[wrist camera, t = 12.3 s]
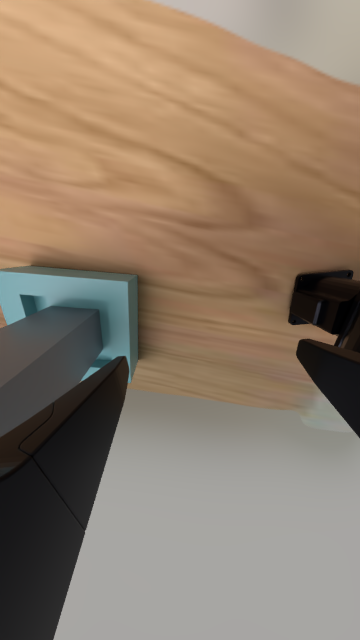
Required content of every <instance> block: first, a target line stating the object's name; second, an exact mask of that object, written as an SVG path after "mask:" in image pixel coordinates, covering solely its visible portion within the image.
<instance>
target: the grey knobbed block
mask: <svg viewBox="0 0 360 640" xmlns="http://www.w3.org/2000/svg"><path fill="white" fill-rule="evenodd" d="M102 350H103V343H102V333H101V323H100V313H99V309H86V308H72V307H58V306H49V307H47V308H45V309H43V310H40V311H38V312H36V313H34V314H32V315H29V316H27V317H25V318H23V319H21V320H18V321H16V322H14V323H12V324H10V325H7V326H5V327H3V328H1V329H0V437H1V436H3V435H4V434H6V433H7V432H9V431H11V430H12V429H14V428H15V427H17V426H18V425H20V424H21V423H23V422H24V421H26V420H28V419H29V418H31V417H32V416H33V415H35V414H36V413H38V412H39V411H41V410H42V409H44V408H45V407H46V406H48V405H49V404H51V403H52V402H55V400H56V399H58V398H59V397H61V396H62V395H63V394H65V393H66V392H68V391H69V390H71V389H72V388H73V387H75V386H76V385H78V384H79V382H80V381H81V379H82V378H83V377H84V375H85V374H86V373H87V371H88V370H89V368H90V367H91V366H92V364H93V363H94V361H95V360H96V359H97V357H98V356H99V354H100V353H101V352H102Z"/></svg>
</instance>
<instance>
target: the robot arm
mask: <svg viewBox="0 0 360 640" xmlns="http://www.w3.org/2000/svg"><path fill="white" fill-rule="evenodd" d="M347 274H348V275H347ZM301 277H302V280H300V279H301ZM352 277H353V271H352V270H341V271H330V272H319V273H309V274H300V275H298V276H297V277H296V281H295V287H294V293H293V296H292V302H291V307H290V315H289V320H288V322H289V323H290V324H291V325H300V324H312V325H315V326H317V327H319V328H321V329H323V330H325V331H327V332H328V333H330V334H333V335H334V334H335V335H336V336H338V337H337V340H336V342H335V344H334V346H333V345H329V344H326V343H322V342H319V341H315V340H312V339H301V340H300V341H299V342H298V347H297V352H296V356H297V358H298V360H299V361H300V363H301V364H302V366H303V367H304V368H305V370H306V371H307V373H308V374H309V376H310V377H311V379H312V380H313V382H314V383H315V384H316V386H317V387H318V388H319V389H320V390H321V392H322V393H323V394H324V395H325V397H326V398H327V399H328V400H329V401H330V403H331V404H332V405H333V406H334V407H335V409H336V410H337V411H338V412H339V414H340V415H341V416H342V417H343V418H344V420H345V421H346V422H347V423H348V424H349V426H350V427H351V428H352V429H353V431H354V432H355V433H356V434H357V435H358V437H359V438H360V281H357V280H352ZM293 320H294V321H293ZM292 321H293V322H292ZM129 372H130V370H129V365H128V361H127V358H126V356H117V357H116V358H114V359H113V360H112V361H110V362H109V363H107V364H106V365H105V366H103V367H102V368H100V369H99V370H97V371H96V372H95V373H93V374H92V375H90V376H89V377H88V378H86V379H85V380H83V381H82V382H80V383H79V384H78V385H76V386H75V387H73V388H72V389H71V390H69V391H68V392H66V393H65V394H63V395H62V396H61V397H59V398H58V399H56V400H55V402H52V403H51V404H49V405H48V406H46V407H45V408H44V409H42V410H41V411H39V412H38V413H36V414H35V415H33V416H32V417H31V418H29V419H28V420H26V421H24V422H23V423H21V424H20V425H18V426H17V427H15V428H14V429H12V430H11V431H9V432H7V433H6V434H4V435H3V436H1V437H0V640H53V639H54V635H55V632H56V629H57V625H58V622H59V619H60V615H61V612H62V608H63V605H64V602H65V598H66V595H67V592H68V588H69V585H70V581H71V578H72V575H73V571H74V568H75V565H76V562H77V558H78V555H79V552H80V548H81V545H82V542H83V538H84V535H85V530H86V528H87V524H88V521H89V518H90V514H91V511H92V507H93V504H94V501H95V498H96V494H97V491H98V487H99V484H100V481H101V477H102V474H103V471H104V467H105V464H106V461H107V457H108V454H109V451H110V447H111V444H112V441H113V437H114V434H115V431H116V427H117V424H118V421H119V417H120V414H121V411H122V407H123V403H124V400H125V395H126V389H127V384H128V378H129Z"/></svg>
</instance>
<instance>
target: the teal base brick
mask: <svg viewBox="0 0 360 640" xmlns="http://www.w3.org/2000/svg"><path fill="white" fill-rule="evenodd" d="M0 305H1V308H2V311H3V314H4V317H5V320H6V323H7V325H10V324H12V323H14V322H16V321H18V320H21V319H23V318H25V317H27V316H29V315H32V314H34V313H36V312H38V311H40V310H43V309H45V308H47V307H49V306H58V307H72V308H86V309H99V313H100V323H101V333H102V343H103V350H102V352H101V353H100V354H99V356H98V357H97V359H96V360H95V361H94V363H93V364H92V366H91V367H90V368H89V370H88V371H87V373H86V374H85V375H84V377H83V378H82V379H81V381H83V380H85V379H86V378H88V377H89V376H90V375H92V374H93V373H95V372H96V371H97V370H99V369H100V368H102V367H103V366H105V365H106V364H107V363H109V362H110V361H112V360H113V359H114V358H116V357H117V356H126V358H127V361H128V365H129V370H130V372H129V378H128V383H131V380H132V377H133V374H134V371H135V368H136V365H137V362H138V275H132V274H120V273H108V272H97V271H85V270H73V269H62V268H50V267H38V266H23V267H14V268H5V269H0Z"/></svg>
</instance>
